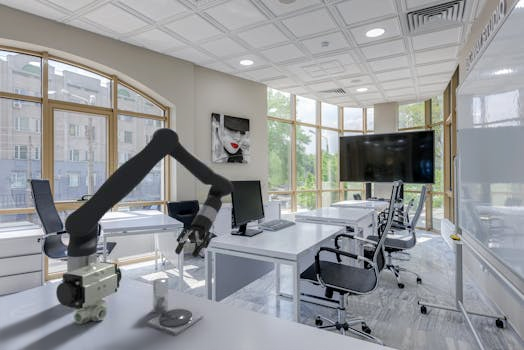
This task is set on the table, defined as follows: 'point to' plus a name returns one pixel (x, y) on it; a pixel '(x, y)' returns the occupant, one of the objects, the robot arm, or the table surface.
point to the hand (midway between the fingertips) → (185, 255)
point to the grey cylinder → (160, 295)
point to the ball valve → (89, 290)
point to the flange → (175, 320)
